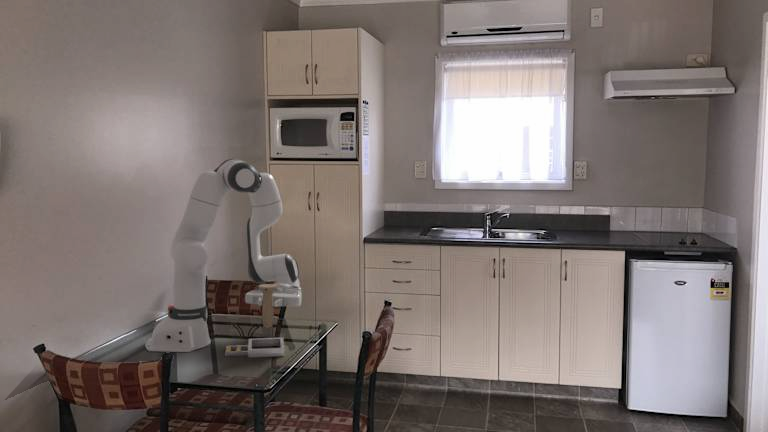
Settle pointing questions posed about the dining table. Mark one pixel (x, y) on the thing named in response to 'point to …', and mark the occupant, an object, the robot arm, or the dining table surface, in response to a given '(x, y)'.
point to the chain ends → (258, 352)
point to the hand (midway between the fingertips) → (267, 304)
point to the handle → (267, 304)
